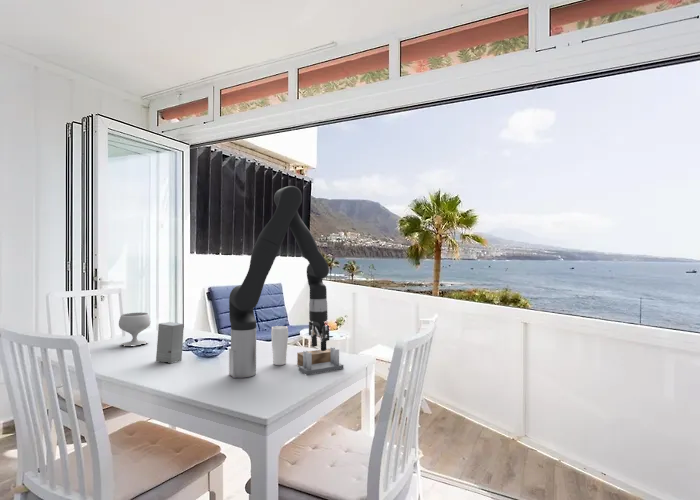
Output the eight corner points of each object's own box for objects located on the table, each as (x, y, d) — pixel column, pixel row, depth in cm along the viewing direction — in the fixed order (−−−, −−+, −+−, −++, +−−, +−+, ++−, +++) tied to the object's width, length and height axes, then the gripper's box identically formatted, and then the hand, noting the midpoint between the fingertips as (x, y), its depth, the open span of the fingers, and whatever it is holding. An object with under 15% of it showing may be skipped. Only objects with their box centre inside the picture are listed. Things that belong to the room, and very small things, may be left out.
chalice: (130, 341, 210) (130, 312, 210) (156, 341, 208) (156, 312, 209) (111, 347, 196) (112, 316, 196) (139, 348, 195) (139, 316, 195)
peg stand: (306, 374, 152) (306, 354, 152) (298, 370, 158) (298, 350, 158) (343, 368, 160) (343, 349, 160) (334, 364, 166) (335, 346, 166)
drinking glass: (284, 366, 163) (284, 329, 163) (268, 365, 165) (268, 328, 165) (290, 362, 170) (290, 326, 170) (275, 361, 171) (275, 325, 171)
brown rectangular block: (302, 368, 162) (302, 355, 162) (297, 364, 167) (297, 352, 167) (338, 362, 170) (338, 350, 170) (332, 359, 175) (332, 348, 175)
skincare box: (155, 361, 170) (155, 323, 170) (169, 357, 177) (169, 321, 177) (171, 363, 167) (171, 325, 167) (184, 359, 174) (184, 322, 174)
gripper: (302, 308, 173) (303, 346, 173) (317, 312, 161) (318, 353, 161) (318, 306, 177) (319, 344, 177) (334, 310, 164) (335, 350, 164)
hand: (318, 348), depth 169 cm, fingers open, 8 cm apart
